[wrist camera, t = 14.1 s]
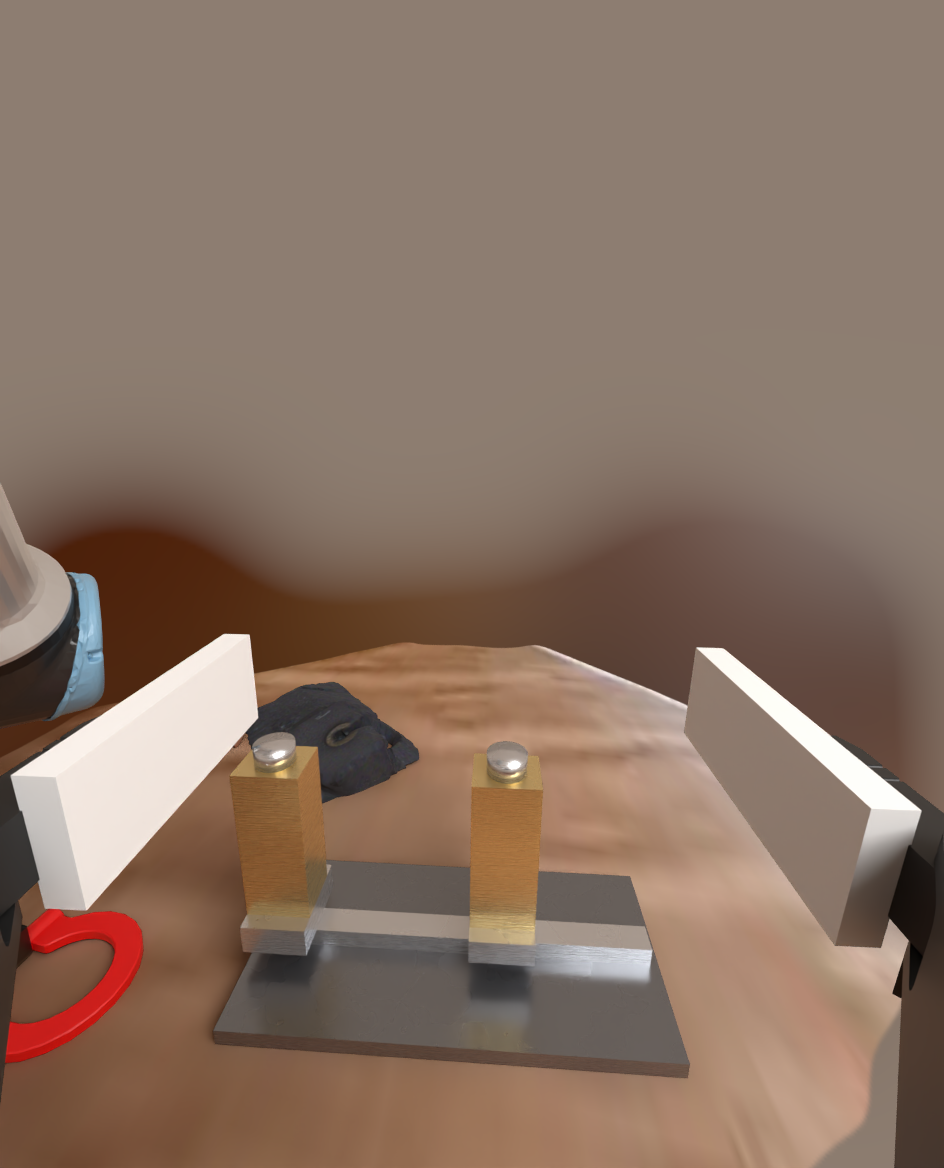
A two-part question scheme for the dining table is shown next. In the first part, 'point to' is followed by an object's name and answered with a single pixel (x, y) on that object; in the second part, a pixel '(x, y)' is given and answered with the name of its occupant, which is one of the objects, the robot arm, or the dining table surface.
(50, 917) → the tow hook
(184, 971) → the dining table surface
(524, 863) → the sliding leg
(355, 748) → the dark folded cloth
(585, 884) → the bolt plate
